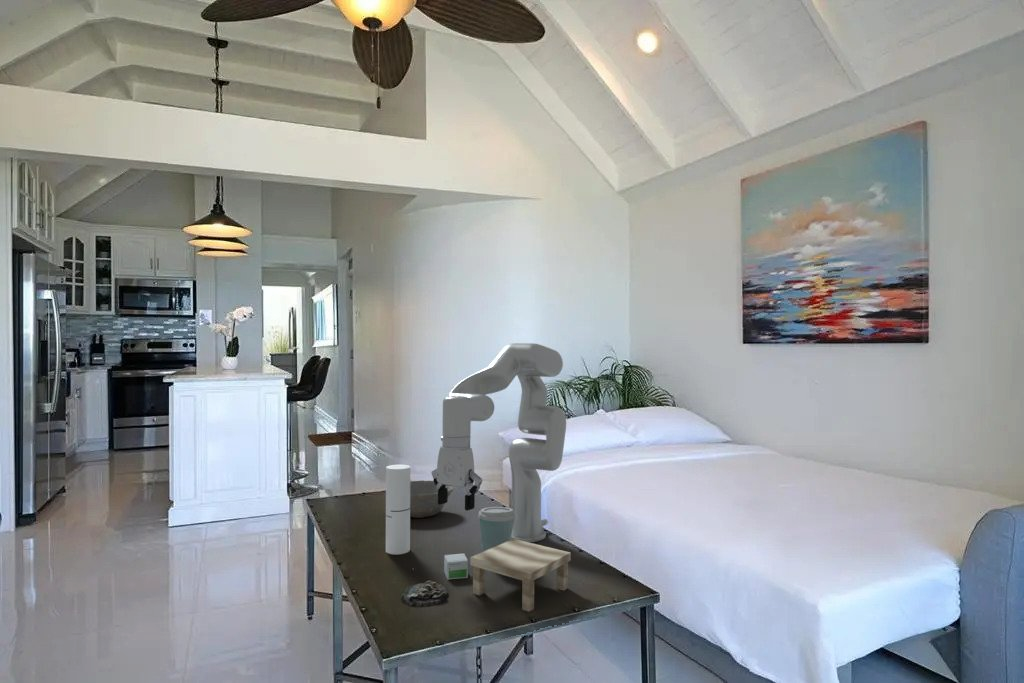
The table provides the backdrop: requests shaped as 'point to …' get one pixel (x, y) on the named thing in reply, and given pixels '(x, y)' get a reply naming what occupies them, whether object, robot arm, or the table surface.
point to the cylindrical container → (397, 509)
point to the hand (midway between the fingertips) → (455, 506)
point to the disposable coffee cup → (496, 526)
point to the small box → (455, 566)
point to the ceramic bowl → (425, 498)
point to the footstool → (521, 566)
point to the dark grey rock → (424, 594)
